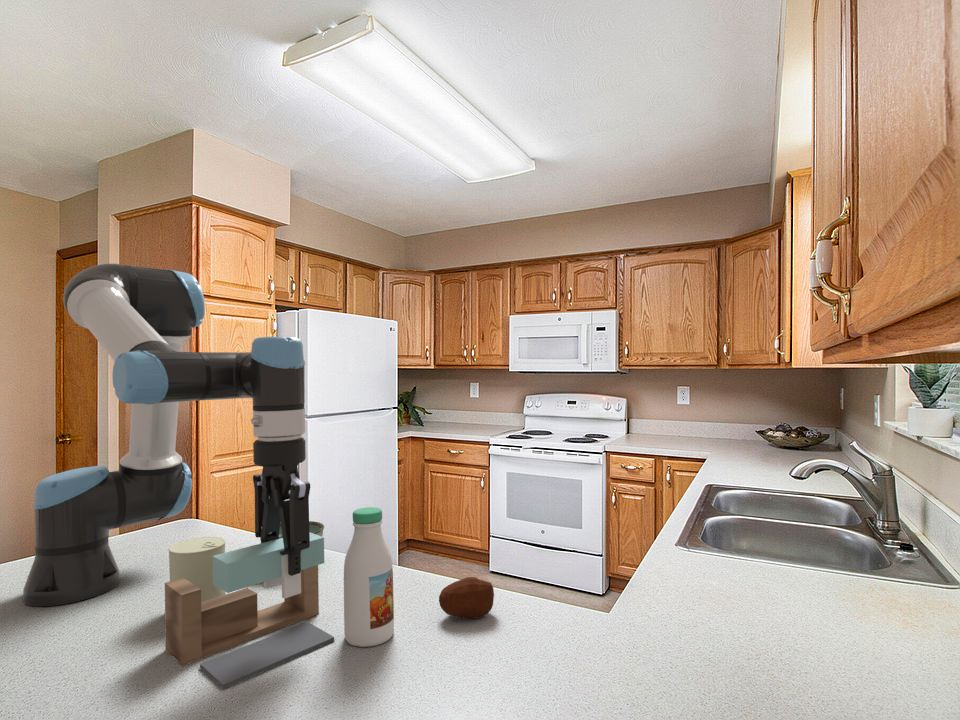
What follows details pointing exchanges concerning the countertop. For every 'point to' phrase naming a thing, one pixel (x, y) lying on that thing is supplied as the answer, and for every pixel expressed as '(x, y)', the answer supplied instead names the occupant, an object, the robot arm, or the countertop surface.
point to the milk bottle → (368, 582)
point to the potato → (467, 598)
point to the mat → (265, 654)
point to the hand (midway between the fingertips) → (282, 589)
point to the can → (197, 563)
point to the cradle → (228, 617)
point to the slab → (260, 563)
